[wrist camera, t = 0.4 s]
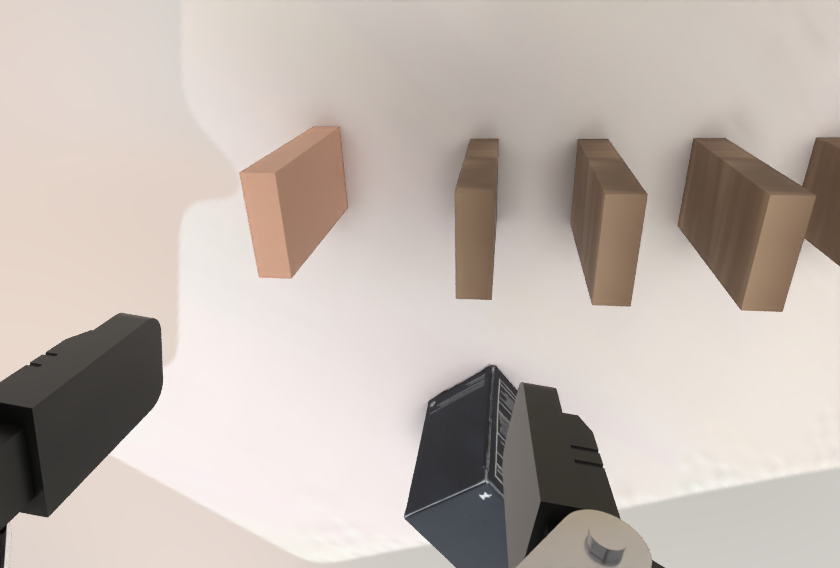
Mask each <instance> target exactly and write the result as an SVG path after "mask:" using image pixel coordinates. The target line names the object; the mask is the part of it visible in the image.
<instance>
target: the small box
mask: <svg viewBox="0 0 840 568" xmlns="http://www.w3.org/2000/svg"><path fill="white" fill-rule="evenodd" d="M516 395H517V391H516V390H515V388H514V387H513V386H512V385H511V384H510V383H509V381H508V380H507V379H506V378H505V377H504V376H503V375H502V374H501V372H500V371H499V370H498V369H497V367H495V366H491V367H489V368H486V369H485V370H483V371H482V372H481V373H479V374H478V375H475V376H474V377H472V378H470V379H468V380H467V381H465V382H463V383H461V384H459V385H457V386H455V387H454V388H452V389H450V390H448V391H445V392H443V393H442V394H440V395H438V396H437V397H435V398H434V399H432V400H431V401H429V402H428V408H427V412H426V418H425V422H424V427H423V432H422V436H421V442H420V446H419V451H418V456H417V461H416V465H415V469H414V474H413V479H412V484H411V488H410V493H409V498H408V503H407V508H406V511H405V514H404V518H405V520H407V521H408V522H409V523H410V524H411V525H412V526H413V527H414V528H415V529H416V530H417V531H418V532H419V533H420V534H421V535H422V536H423V537H424V538H425V539H427V540H428V541H429V542H430V543H431V544H432V545H433V546H434V547H435V548H436V549H437V550H438V551H439V552H440V553H442V555H444V557H445V558H447V559H448V560H449V561H450V562H451V563H452V564H453V565H454V566H455V567H456V568H509V567H508V552H507V536H506V520H505V505H504V489H503V473H502V464H503V453H504V446H505V441H506V437H507V433H508V428H509V424H510V420H511V416H512V412H513V408H514V403H515V399H516Z"/></svg>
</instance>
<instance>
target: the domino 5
mask: <svg viewBox="0 0 840 568" xmlns="http://www.w3.org/2000/svg"><path fill="white" fill-rule="evenodd" d="M803 187H804V188H805V189H807V190H808V191H810V192H811V193H813V194H815V195H816V199H815V202H814V206H813V209H812V213H811V216H810V219H809V223H808V226H807V230H806V233H805V236H804V238H805V239H806V240H807V241H809V242H810V243H811V244H812V245H814V246H815V247H816V248H817V249H819V250H820V251H821V252H822V253H824V254H825V255H826V256H828V257H829V258H830V259H831V260H833V261H834V262H835V263H836V264H838V265H839V266H840V138H816V140H815V144H814V148H813V151H812V155H811V158H810V162H809V166H808V169H807V173H806V176H805V180H804V183H803Z"/></svg>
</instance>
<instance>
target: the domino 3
mask: <svg viewBox="0 0 840 568" xmlns="http://www.w3.org/2000/svg"><path fill="white" fill-rule="evenodd" d="M647 195H648V194H647V193H646V192H645V190H644V189H643V187H642V186H641V185H640V183H639V182H638V180H637V179H636V178H635V176H634V175H633V173H632V172H631V171H630V169H629V168H628V166H627V165H626V164H625V162H624V161H623V159H622V158H621V157H620V155H619V154H618V152H617V151H616V150H615V148H614V147H613V145H612V144H611V143H610V141H609V140H608V139H578V146H577V157H576V168H575V179H574V190H573V201H572V212H571V223H570V224H571V228H572V232H573V235H574V239H575V243H576V247H577V250H578V254H579V258H580V262H581V265H582V269H583V273H584V276H585V280H586V284H587V288H588V291H589V295H590V299H591V302H592V305H605V306H631V300H632V294H633V287H634V280H635V274H636V267H637V261H638V254H639V248H640V241H641V235H642V228H643V222H644V215H645V208H646V202H647Z"/></svg>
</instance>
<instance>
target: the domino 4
mask: <svg viewBox="0 0 840 568" xmlns="http://www.w3.org/2000/svg"><path fill="white" fill-rule="evenodd" d="M815 199H816V195H815V194H813V193H811V192H810V191H808V190H807V189H805V188H804V187H802V186H800V185H799V184H797V183H796V182H794V181H792V180H791V179H789V178H788V177H786V176H784V175H783V174H781V173H780V172H778V171H776V170H775V169H773V168H772V167H770V166H769V165H767V164H765V163H764V162H762V161H761V160H759V159H757V158H756V157H754V156H753V155H751V154H749V153H748V152H746V151H745V150H743V149H742V148H740V147H738V146H737V145H735V144H734V143H732V142H730V141H729V140H727V139H726V138H699V139H693V145H692V150H691V156H690V161H689V167H688V172H687V178H686V183H685V189H684V194H683V200H682V205H681V211H680V216H679V221H678V227H679V228H680V230H681V231H682V232H683V234H684V235H685V236H686V238H687V239H688V240H689V242H690V243H691V244H692V246H693V247H694V248H695V250H696V251H697V252H698V254H699V255H700V256H701V258H702V259H703V260H704V262H705V263H706V264H707V266H708V267H709V268H710V270H711V271H712V272H713V274H714V275H715V276H716V278H717V279H718V280H719V282H720V283H721V284H722V286H723V287H724V288H725V290H726V291H727V292H728V294H729V295H730V296H731V298H732V299H733V300H734V302H735V303H736V304H737V306H738V307H739V308H740V310H748V311H775V312H782V311H783V308H784V304H785V301H786V298H787V294H788V291H789V287H790V284H791V281H792V277H793V274H794V270H795V267H796V264H797V260H798V257H799V253H800V250H801V247H802V243H803V240H804V236H805V233H806V230H807V226H808V223H809V219H810V216H811V213H812V209H813V206H814V202H815Z"/></svg>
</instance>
